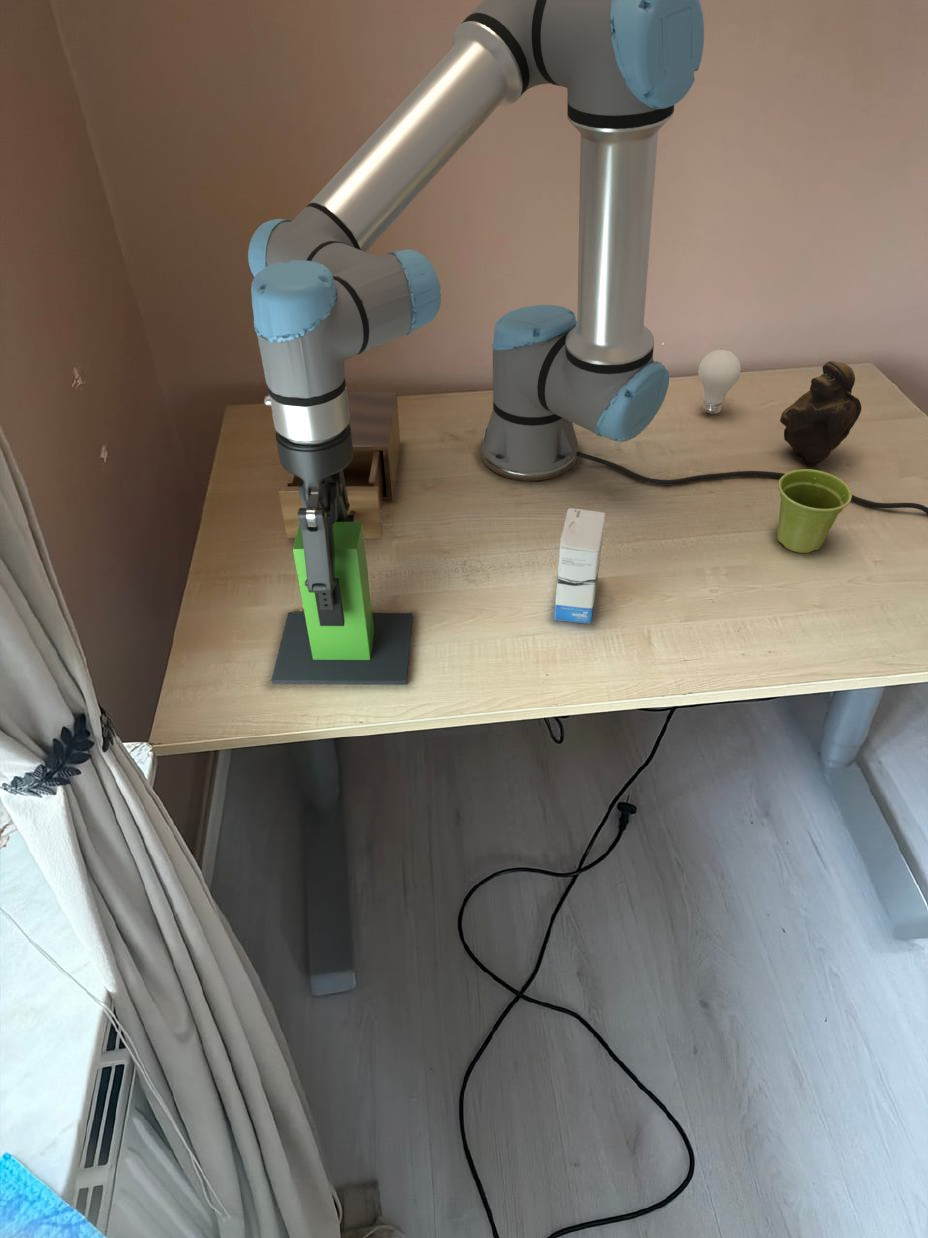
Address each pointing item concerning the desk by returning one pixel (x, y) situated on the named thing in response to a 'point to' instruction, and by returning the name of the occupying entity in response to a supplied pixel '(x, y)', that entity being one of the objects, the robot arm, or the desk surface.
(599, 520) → the ink box
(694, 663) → the desk surface
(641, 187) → the robot arm
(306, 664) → the slate mat
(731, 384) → the light bulb
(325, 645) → the tall green prism
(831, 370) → the sculpture
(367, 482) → the drawer
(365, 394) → the cabinet
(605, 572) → the desk surface
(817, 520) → the plant pot
